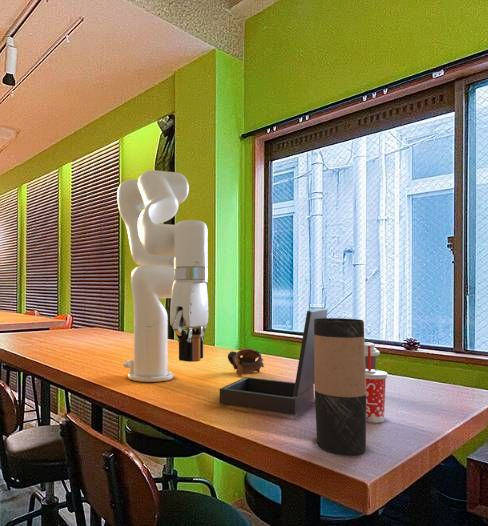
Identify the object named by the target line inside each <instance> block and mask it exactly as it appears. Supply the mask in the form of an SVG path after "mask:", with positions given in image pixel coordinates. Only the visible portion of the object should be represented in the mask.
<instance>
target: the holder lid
mask: <svg viewBox="0 0 488 526" xmlns="http://www.w3.org/2000/svg"><path fill="white" fill-rule="evenodd" d="M328 309H329V308H326V307H325V308H324V307H323V308H317V309H311V310H306V314H305V320H304V328H303V332H302V333H303V334H302V339H301V346H300V352H299V357H298V364H297V370H296V376H295V382H294V383H295V387H294V393H293V396H295V397H298V396H299V395H300V394H302V393H303V392H304V391H306V390H307V389H308V388H310V387H311V386H312V385H314V386H315V384H314V320H315V319H318V318H328V317H327V316H328Z"/></svg>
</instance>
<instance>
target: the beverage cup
mask: <svg viewBox="0 0 488 526" xmlns="http://www.w3.org/2000/svg"><path fill="white" fill-rule="evenodd" d="M387 378H388V372H387V371H383V370H380V369H376V370H373V369H371V348H370V345H368V369H366V418H367V419H366V423H376V424H377V423H383V422H385V405H386V404H385V403H386V402H385V401H386V381H387V380H386V379H387Z"/></svg>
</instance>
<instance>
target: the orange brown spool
mask: <svg viewBox="0 0 488 526" xmlns="http://www.w3.org/2000/svg"><path fill="white" fill-rule="evenodd" d="M200 338H202V335H198V334H192V337H191V342H193V361H191V363H196V362H197V363H198V362H200V361H201V359H200ZM186 362H187V363H190V361H186Z"/></svg>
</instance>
